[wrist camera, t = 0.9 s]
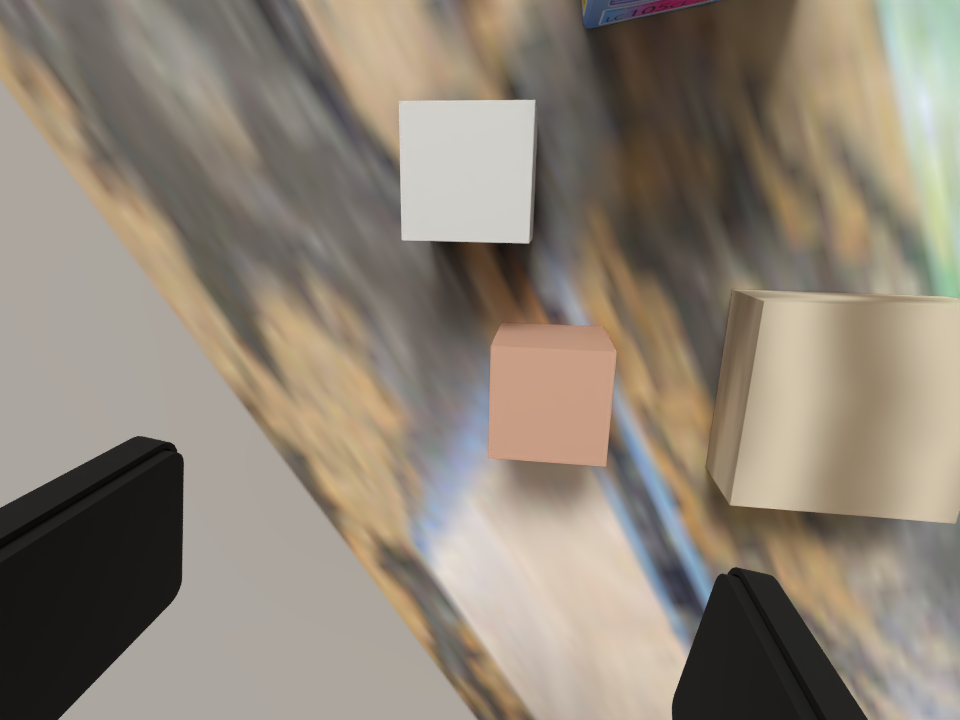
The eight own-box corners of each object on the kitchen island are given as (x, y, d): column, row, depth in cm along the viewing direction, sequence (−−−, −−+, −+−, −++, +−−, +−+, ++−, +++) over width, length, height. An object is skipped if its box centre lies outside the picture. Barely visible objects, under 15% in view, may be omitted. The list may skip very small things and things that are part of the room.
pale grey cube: (537, 124, 25) (535, 99, 20) (532, 238, 27) (528, 243, 22) (428, 124, 26) (398, 100, 21) (429, 236, 28) (401, 240, 22)
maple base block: (947, 296, 25) (1019, 310, 21) (899, 481, 28) (955, 523, 24) (732, 289, 26) (764, 301, 22) (705, 467, 29) (729, 505, 25)
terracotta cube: (603, 326, 28) (616, 351, 22) (595, 421, 29) (605, 466, 24) (501, 322, 28) (490, 345, 23) (498, 415, 30) (488, 458, 25)
